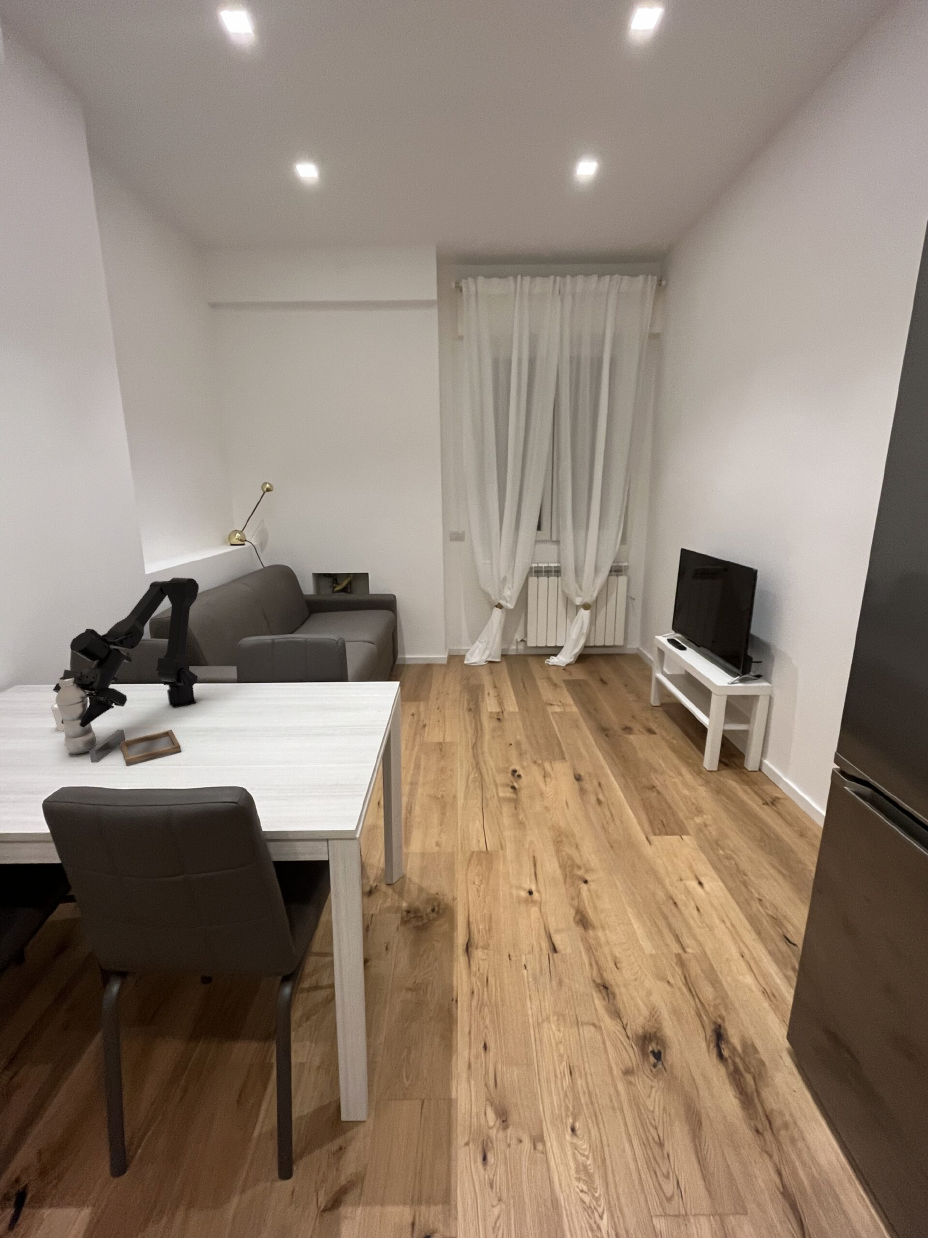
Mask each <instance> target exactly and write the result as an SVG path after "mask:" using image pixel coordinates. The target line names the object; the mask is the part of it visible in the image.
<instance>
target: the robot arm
mask: <svg viewBox="0 0 928 1238" xmlns="http://www.w3.org/2000/svg"><path fill="white" fill-rule="evenodd" d="M199 589H200V588H199V583H198V582H197V581H196V579H194V578H192V577H191V578H190V577H172V578H171V579H170V580H161V581H159V580H157V581H156V580H155V581H152V582H151V583H150V584H149V586H148V589H147V590H146V592H145V593H144V594H143V595H142V597H141V598H140V599H139V600H138V602H137V603H136V605H135V606H134V608H132V610H131V611H130V613H129V614H128V615H127V616H126V617H125V618H123V619H121V620H118V622H116V623H115V624H114V625H113V626H111V627H110V628H109V629H108V630H107V632H106V633H104V634H100V633H98V631H96V630H95V629H93V628H86V629H85V631H84V632H82V633H79V634H77V636H75V637H74V638H73V639H72V640H71V642H70V645H69V649H70V650H71V651H72V652H73V653H75V654H77V655H79V656H80V657H82V658H83V659H86V660H87V661H89V662H94V663H93V665H92V666H91V667H86V668H83V670H82V671H80V670H72V669H71V670H70V669H64V670H63V675H62V677H63V676H64V677H63V680H66V679H71V678H74V682H73V683H74V684H78V685H79V686H80V687H81V688H83V689H84V690H85V691H86V693H87V697H88V703H89V704H88V709H87V711H86V713H85V715H84V717H83V719H82V721H81V723H80V726H81V727H85V726H86V725H88V724H89V723H91V724H92V722H93V721H95V720H96V719H97V718H99V717H100V716H102V715H103V714H105V713H106V712H108V711H109V710H111V709H114V708H115V706H116V707H125V705H126V704H127V701H128V697H127V695H126V694H124V693H123V692H122V691H119V690H117V689H116V688H112V687H110V686H111V684H112V683H113V682H114V683H117V681H118V680H119V678H118V677H116V676H117V673H119V670H120V668H121V666H122V665H123V663H124V662H125V663H132V657H131V655H130V652H129V651H122V650H120V649H123V650H124V649H125V650H133V649H136V648H137V647H138V646H139V645H140V642H141V640H142V639H143V637H144V635H145V627H146V625H147V623H148V622H149V621H150V619H151V618H152V617H153V615H154V613H156V612H157V609H158V608H159V607H160V606H161V604H162V603H163V602H164V600H165V598H166V597H167V599H168V600H169V603H170V605H171V610H170V621H169V628H168V629H169V630H168V638H167V647H166V653H165V654H164V656H163V657H158V659H157V667H156V669H155V671H156V672H157V677H158V678H159V680H160V681H161V683H162V684H163V686H168V689H166V693H167V698H168V704H169V705H170V706H172V708H174V709H175V708H178V707H179V708H180V707H183V706H188V705H193V704H196V703H197V701H196V700H195V695H194V685H195V684H197V683H198V675H197V674H196V673H194V672H192V671H191V669H190V661H189V659H188V657H187V655H186V646H187V638H188V637H187V636H188V630H189V629H188V627H189V619H190V609H191V606H192V605H193V604H194V603H195V601H196V600H197V597H198V594H199ZM59 684H60V683H59V682H58V683H56V684H55V685H54V687H53V689H52V691H53V692H55V693H57V694H58V692H59V691H60V689H61V687H60V686H59ZM61 723H62V724H64V723H63V720H62V722H61Z"/></svg>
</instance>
